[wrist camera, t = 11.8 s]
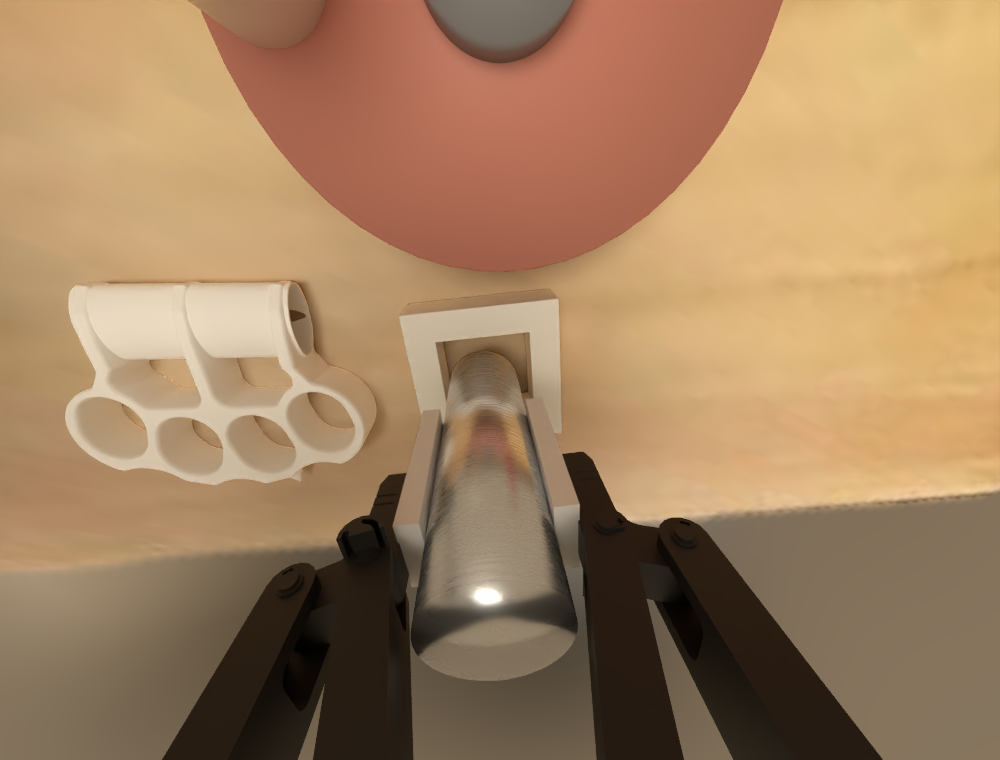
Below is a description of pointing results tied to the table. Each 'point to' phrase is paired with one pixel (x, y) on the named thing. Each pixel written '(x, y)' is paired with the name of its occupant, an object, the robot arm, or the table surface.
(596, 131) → the handwheel
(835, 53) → the table surface
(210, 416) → the knuckle duster
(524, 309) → the eye block
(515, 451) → the steel pin
